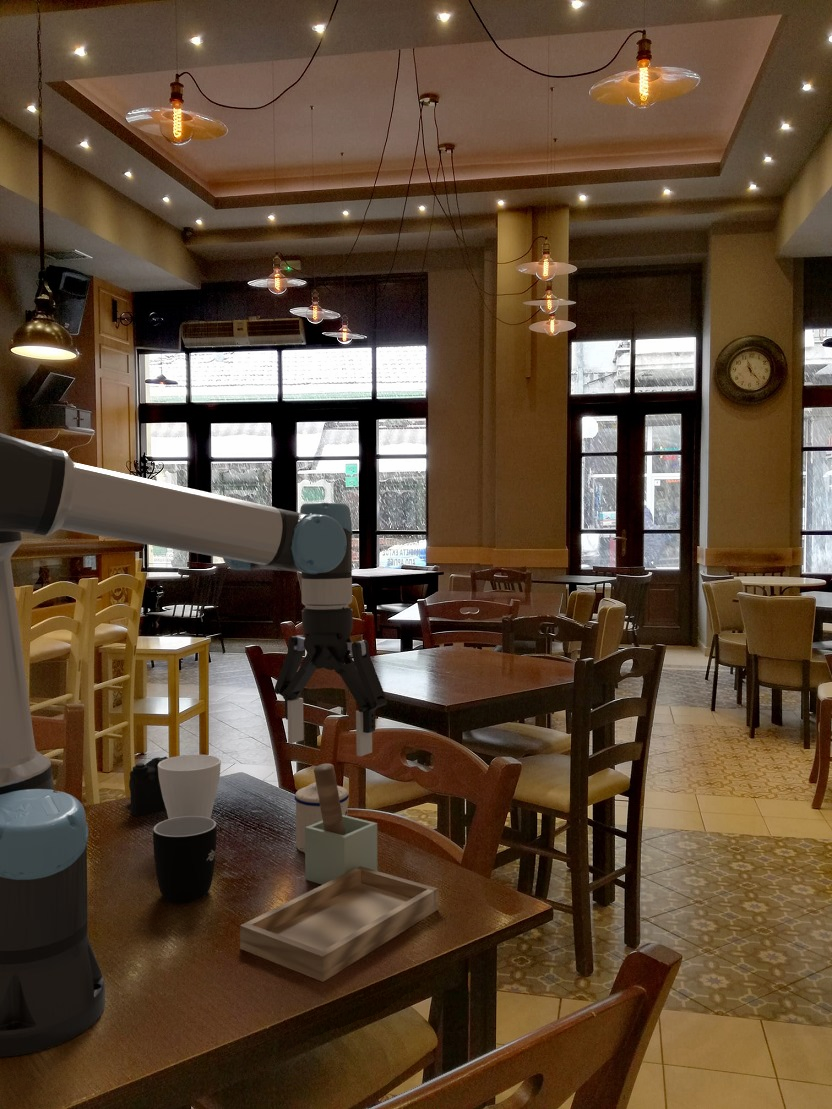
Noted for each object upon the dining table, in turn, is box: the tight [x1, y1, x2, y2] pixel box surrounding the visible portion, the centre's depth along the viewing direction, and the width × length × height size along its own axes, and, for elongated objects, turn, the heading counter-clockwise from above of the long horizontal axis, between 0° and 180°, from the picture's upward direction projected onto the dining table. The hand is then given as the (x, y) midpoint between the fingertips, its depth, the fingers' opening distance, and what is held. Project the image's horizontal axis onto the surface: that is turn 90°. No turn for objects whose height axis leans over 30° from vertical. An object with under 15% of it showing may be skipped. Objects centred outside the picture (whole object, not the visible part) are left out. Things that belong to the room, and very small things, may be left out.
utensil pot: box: [304, 815, 378, 885], centre depth 134 cm, size 8×8×8 cm
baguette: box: [313, 763, 346, 835], centre depth 132 cm, size 6×3×17 cm, turn 144°
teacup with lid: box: [294, 781, 350, 854], centre depth 148 cm, size 12×9×12 cm
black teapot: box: [128, 756, 169, 817], centre depth 170 cm, size 14×11×10 cm
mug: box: [152, 816, 218, 904], centre depth 129 cm, size 12×9×10 cm
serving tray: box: [239, 866, 439, 983], centre depth 116 cm, size 24×14×3 cm, turn 144°
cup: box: [158, 754, 222, 820], centre depth 149 cm, size 10×10×14 cm
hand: (329, 747), depth 131 cm, fingers open, 13 cm apart
